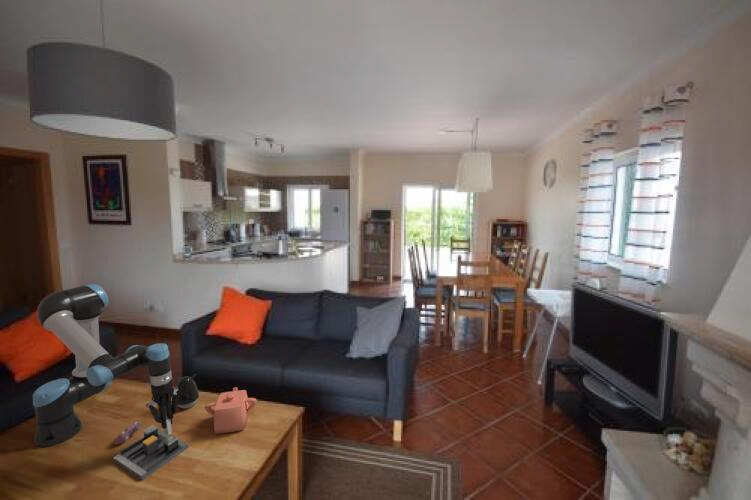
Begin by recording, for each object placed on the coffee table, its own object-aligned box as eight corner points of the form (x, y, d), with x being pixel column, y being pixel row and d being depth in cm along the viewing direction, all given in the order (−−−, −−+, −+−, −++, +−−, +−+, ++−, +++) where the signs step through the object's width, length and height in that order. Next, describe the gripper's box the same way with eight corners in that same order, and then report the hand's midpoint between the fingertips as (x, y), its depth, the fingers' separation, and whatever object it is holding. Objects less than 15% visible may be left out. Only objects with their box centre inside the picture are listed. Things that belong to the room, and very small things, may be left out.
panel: (113, 460, 133) (111, 446, 132) (159, 432, 148) (158, 419, 147) (142, 480, 124) (140, 465, 123) (188, 447, 139) (187, 434, 138)
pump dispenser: (204, 402, 169) (201, 375, 166) (183, 414, 160) (180, 385, 158) (192, 396, 174) (190, 369, 172) (172, 407, 166) (168, 378, 163)
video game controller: (120, 449, 140) (124, 437, 139) (111, 444, 141) (115, 431, 139) (140, 433, 150) (145, 421, 148) (132, 428, 150) (136, 416, 149)
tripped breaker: (143, 452, 135) (142, 441, 134) (154, 445, 138) (152, 435, 137) (148, 454, 133) (146, 444, 132) (158, 448, 137) (157, 437, 136)
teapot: (255, 430, 150) (253, 401, 147) (202, 437, 145) (199, 408, 143) (260, 403, 169) (259, 377, 166) (213, 409, 164) (211, 383, 162)
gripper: (150, 392, 130) (157, 446, 134) (182, 376, 141) (188, 426, 145) (139, 387, 133) (146, 440, 137) (171, 371, 145) (177, 421, 149)
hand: (168, 433), depth 141 cm, fingers closed
